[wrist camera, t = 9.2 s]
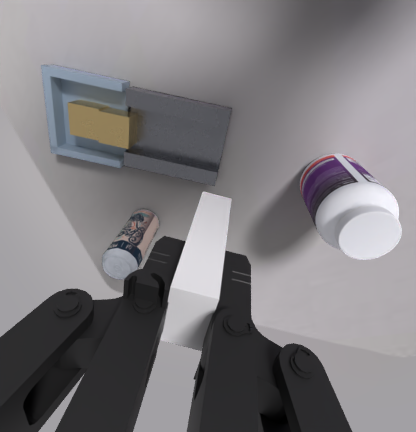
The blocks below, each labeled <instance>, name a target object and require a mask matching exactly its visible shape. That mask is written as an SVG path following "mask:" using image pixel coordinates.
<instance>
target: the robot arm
mask: <svg viewBox="0 0 416 432" xmlns="http://www.w3.org/2000/svg"><path fill="white" fill-rule="evenodd" d="M231 200H232V199H231V198H227V197H223V196H219V195H216V194H212V193H208V192H204V191H203V192H202V195H201V198H200V201H199V204H198V207H197V210H196V213H195V216H194V219H193V222H192V225H191V228H190V231H189V234H188V237H187V240H186V241H182V240H178V239H174V238H170V237H166V236H164V237H162V238H161V239H160V240H158V241H157V242H156V243H155V245H154V247H153V249H152V252H151V253H150V255H149V257H148V259H147V261H146V263H145V265H144V267H143V269H140V270H136V271H134V272H132V273H130V274H129V275H128V276H127V277H126V278H125V279H124V293H123V296H122V297H119V298H116V299H109V300H92V297H91V295H89V294H88V293H87V292H86V291H83V290H80V289H66V290H63V291H59V292H57V293H55V294H54V295H52V296H51V297H49V298H48V299H47V300H45V301H44V302H43V303H42V304H40V305H39V306H38V307H37V308H36V309H34V310H33V311H32V312H31V313H30V314H28V315H27V316H26V317H25V318H23V319H22V320H21V321H20V322H18V323H17V324H16V325H15V326H14V327H13V328H11V329H10V330H9V331H7V332H6V333H5V334H4V335H3V336H1V337H0V432H38V431H39V430H40V429H41V427H42V426H43V425H44V424H45V422H46V421H47V420H48V419H49V417H50V416H51V415H52V414H53V412H54V411H55V410H56V409H57V407H58V406H59V405H60V404H61V402H62V401H63V400H64V398H65V397H66V396H67V395H68V394H69V392H70V391H71V390H72V388H73V387H74V386H75V385H76V383H77V382H78V381H79V380H80V378H81V377H82V376H83V375H84V376H83V378H82V380H81V382H80V384H79V386H78V388H77V390H76V392H75V394H74V396H73V397H72V400H71V402H70V404H69V405H68V407H67V409H66V411H65V413H64V415H63V417H62V419H61V421H60V423H59V425H58V427H57V429H56V431H55V432H133V429H134V426H135V423H136V420H137V417H138V413H139V410H140V407H141V403H142V400H143V397H144V394H145V390H146V387H147V384H148V381H149V377H150V374H151V371H152V368H153V364H154V361H155V358H156V353H157V348H158V345H159V342H160V340H161V341H165V342H168V343H172V344H176V345H180V346H184V347H188V348H192V349H196V350H200V351H201V350H202V354H201V359H200V362H199V365H198V368H197V371H196V373H195V376H194V379H195V380H196V381H195V387H194V392H193V398H192V405H191V410H190V416H189V422H188V428H187V432H352V430H351V428H350V426H349V424H348V421H347V419H346V417H345V415H344V412H343V410H342V408H341V406H340V403H339V401H338V399H337V397H336V394H335V392H334V390H333V388H332V385H331V383H330V381H329V379H328V376H327V374H326V372H325V370H324V367H323V365H322V364H321V362H320V361H319V359H318V357H317V356H316V355H315V354H314V353H313V352H312V351H311V350H309V349H308V348H306V347H304V346H302V345H298V344H294V343H293V344H287V345H286V346H284V347H283V348H282V347H280V346H279V345H277V344H275V343H274V342H272V341H270V340H268V339H267V338H266V337H264V336H263V335H262V334H261V333H260V332H259V331H258V330H257V329H256V327H255V325H254V323H253V321H252V318H251V285H250V284H251V277H250V276H251V265H250V263H249V261H248V259H247V257H246V256H244V255H240V254H236V253H232V252H229V251H225V249H226V241H227V233H228V225H229V217H230V209H231ZM202 347H203V348H202ZM84 373H85V374H84Z"/></svg>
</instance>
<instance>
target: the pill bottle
mask: <svg viewBox="0 0 416 432" xmlns="http://www.w3.org/2000/svg"><path fill="white" fill-rule="evenodd" d="M300 191H301V194H302V197H303V199H304V201H305V203H306V206H307V208H308V210H309V212H310V215H311V217H312V219H313V222H314V224H315V226H316V229H317V231H318V233H319V235H320V236H321V237H322V239H323V240H324V241H325V242H326V243H328V244H329V245H331V246H332V247H335V248H337V249H340V250H342V252H343V253H345V254H346V255H347V256H349V257H351V258H354V259H359V260H369V259H374V258H378V257H380V256H383V255H385V254H386V253H388V252H389V251H391V250H392V249H393V248H394V247H395V246H396V245H397V243H398V242H399V240H400V238H401V233H402V229H401V225H400V223H399V221H398V217H399V208H398V203H397V201H396V199H395V197H394V196H393V195H392V194H391V193H390V192H389V191H388V190H387V189H386V188H385V187H384V186H383V185H382V184H381V183H379V182H378V181H377V180H376V179H375V178H374V177H373V176H372V175H370V174H369V173H368V172H367V171H366V170H365V169H364V168H363V167H362V166H361V165H359V164H358V163H357V162H356V161H355V160H354V159H352V158H351V157H349V156H346V155H343V154H328V155H324V156H321V157H319V158H317V159H316V160H314V161H313V162H311V163H310V164H309V165H308V166H307V167H306V169H305V170H304V172H303V174H302V176H301V179H300Z"/></svg>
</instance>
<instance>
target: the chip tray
mask: <svg viewBox="0 0 416 432" xmlns="http://www.w3.org/2000/svg"><path fill="white" fill-rule="evenodd" d="M41 69H42V78H43V87H44V95H45V104H46V113H47V121H48V130H49V139H50V147H51V153H54V154H59V155H63V156H68V157H72V158H77V159H81V160H86V161H90V162H95V163H99V164H104V165H108V166H113V167H117V168H121V167H122V166H123V165H124V152H125V151H126V150H127V149H126V148H121V147H117V146H112V145H108V144H103V143H99V141H98V140H93V139H88V138H84V137H79V136H75V135H70V127H69V115H68V102H71V101H75V100H80V99H81V100H85V101H90V102H95V103H99V104H104V105H108V106H109V107H110V108H115V109H119V110H124V111H129V106H125V101H126V88H129V83H130V81H125V80H121V79H116V78H112V77H107V76H103V75H98V74H94V73H89V72H84V71H80V70H75V69H71V68H66V67H62V66H57V65H41Z"/></svg>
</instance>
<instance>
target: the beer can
mask: <svg viewBox="0 0 416 432" xmlns="http://www.w3.org/2000/svg"><path fill="white" fill-rule="evenodd" d="M158 228H159V220H158V218H157V216H156V215H155V214H154V213H153V212H151V211H149V210H145V209H141V210H137V211H135V212H134V213H133V215H132V216H131V218H130V219H129V221H128V222H127V223H126V225H125V226H124V228H123V229H122V230H121V232H120V233H119V234H118V236H117V237H116V239H115V240H114V241H113V243H112V244H111V245H110V247H109V248H108V250H107V251H106V252H105V253H104V254H103V257H102V266H103V269H104V271H105V272H106V273H107V274H108V275H109V276H110V277H112V278H115V279H119V280H122V279H125V278H126V277H127V276H128V275H129V274H130V273H132V272H134V271H136V270H137V269H138V267H139V265H140V263H141V261H142V259H143V257H144V255H145V253H146V251H147V249H148V247H149V245H150V244H151V242H152V240H153V238H154V236H155V234H156V232H157V230H158Z"/></svg>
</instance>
